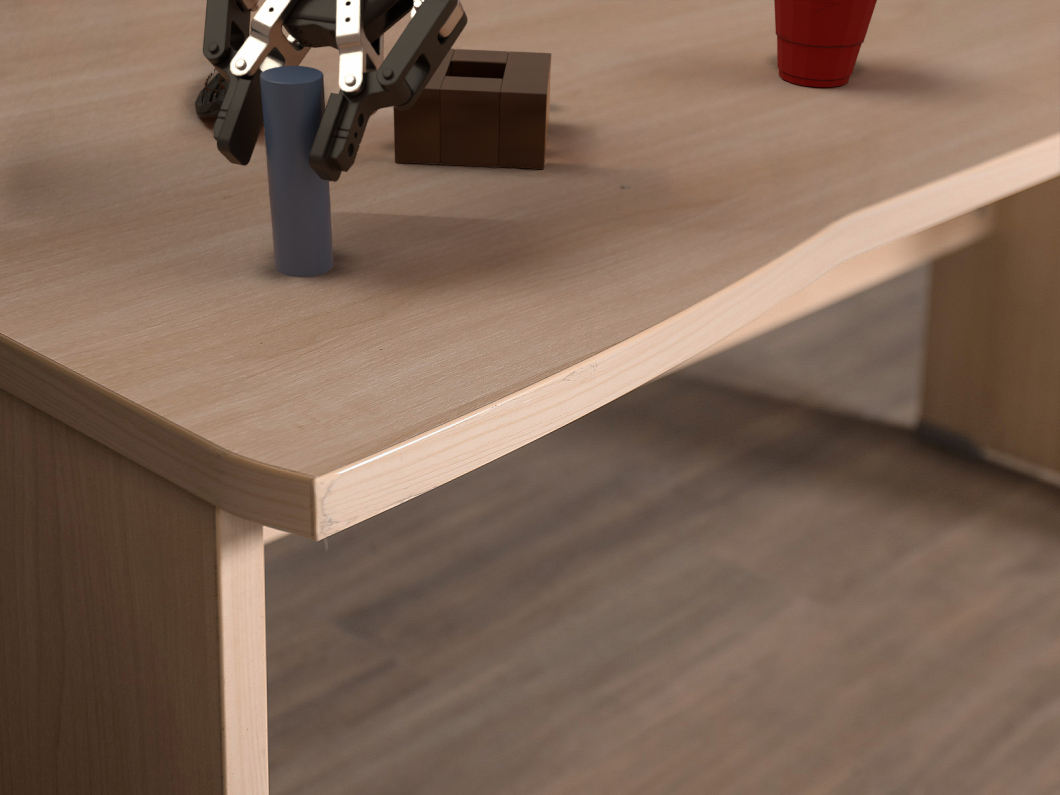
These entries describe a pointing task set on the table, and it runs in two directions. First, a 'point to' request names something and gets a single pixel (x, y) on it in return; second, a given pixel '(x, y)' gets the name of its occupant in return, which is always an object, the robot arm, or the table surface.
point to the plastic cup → (820, 39)
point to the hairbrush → (211, 96)
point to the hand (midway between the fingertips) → (277, 164)
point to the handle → (296, 170)
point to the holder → (479, 112)
